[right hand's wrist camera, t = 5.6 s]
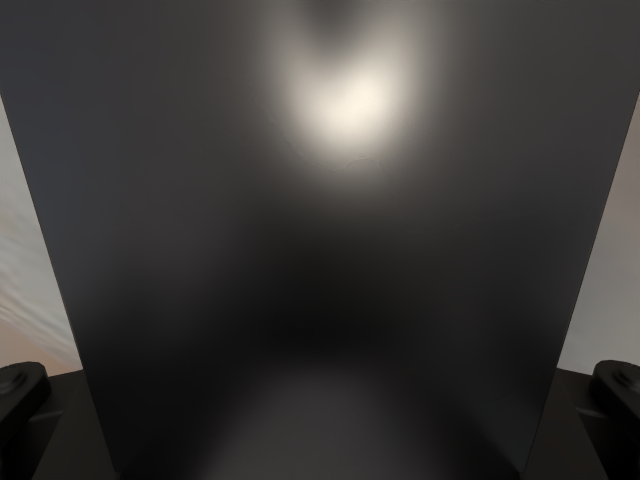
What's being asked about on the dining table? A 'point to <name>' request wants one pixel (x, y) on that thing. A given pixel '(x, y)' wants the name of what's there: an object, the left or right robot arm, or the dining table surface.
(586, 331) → the dining table surface
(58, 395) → the right robot arm
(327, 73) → the box
